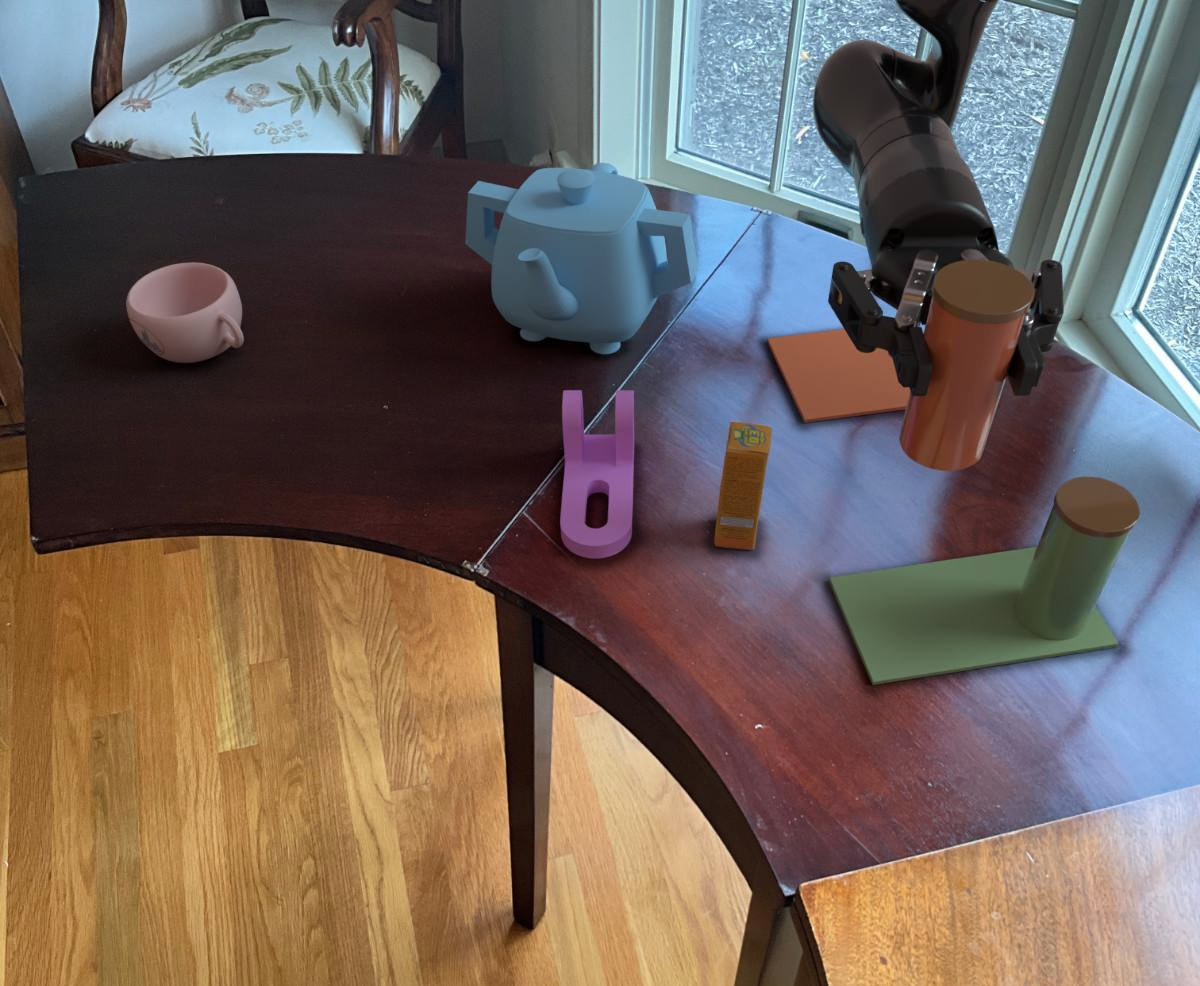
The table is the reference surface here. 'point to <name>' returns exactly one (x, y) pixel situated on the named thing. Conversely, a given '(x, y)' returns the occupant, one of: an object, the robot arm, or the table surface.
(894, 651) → the sage mat
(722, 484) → the supplement box
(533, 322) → the teapot
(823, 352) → the terracotta mat
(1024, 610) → the sage canister
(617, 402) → the bracket
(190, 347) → the mug
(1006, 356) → the terracotta canister
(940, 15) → the robot arm
